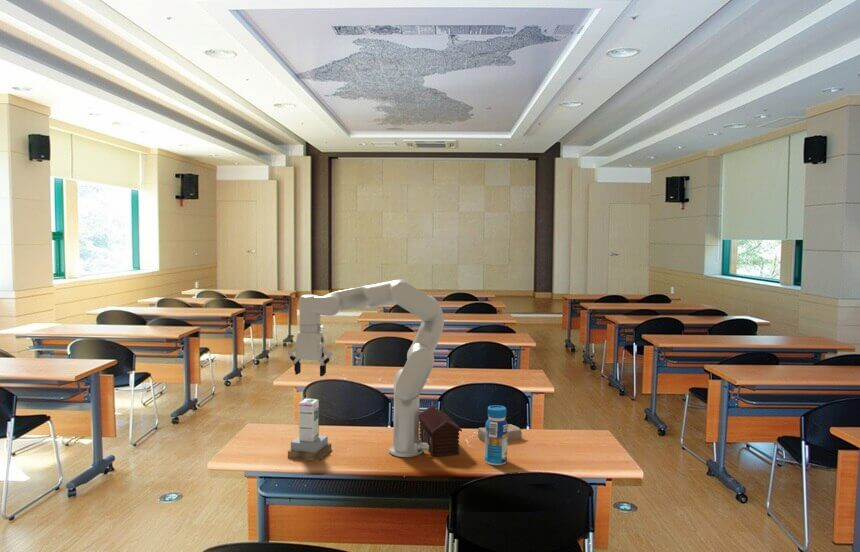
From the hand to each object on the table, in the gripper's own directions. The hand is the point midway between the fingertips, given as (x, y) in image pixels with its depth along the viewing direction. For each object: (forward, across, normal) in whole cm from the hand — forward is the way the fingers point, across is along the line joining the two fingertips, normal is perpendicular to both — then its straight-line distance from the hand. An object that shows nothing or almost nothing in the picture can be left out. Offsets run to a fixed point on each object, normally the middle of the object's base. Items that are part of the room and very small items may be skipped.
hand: (310, 374), depth 225 cm
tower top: (+27, 0, 0) cm, 27 cm away
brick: (+31, -66, -35) cm, 81 cm away
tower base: (+30, 0, 0) cm, 30 cm away
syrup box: (+24, +1, 0) cm, 25 cm away
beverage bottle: (+30, -68, -10) cm, 75 cm away
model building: (+30, -44, -19) cm, 57 cm away
